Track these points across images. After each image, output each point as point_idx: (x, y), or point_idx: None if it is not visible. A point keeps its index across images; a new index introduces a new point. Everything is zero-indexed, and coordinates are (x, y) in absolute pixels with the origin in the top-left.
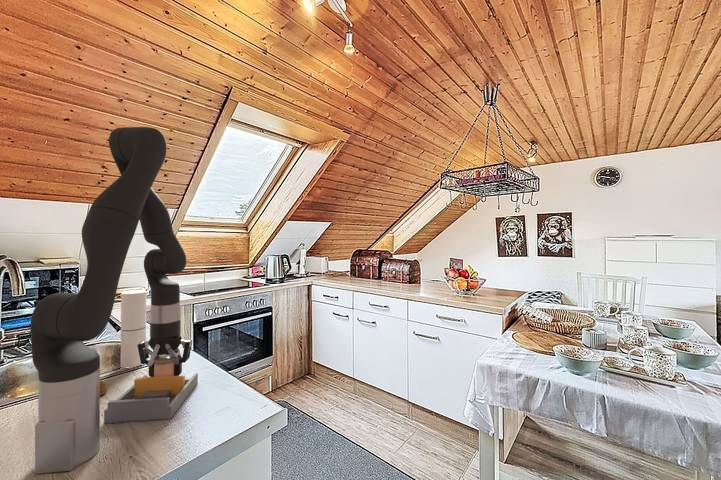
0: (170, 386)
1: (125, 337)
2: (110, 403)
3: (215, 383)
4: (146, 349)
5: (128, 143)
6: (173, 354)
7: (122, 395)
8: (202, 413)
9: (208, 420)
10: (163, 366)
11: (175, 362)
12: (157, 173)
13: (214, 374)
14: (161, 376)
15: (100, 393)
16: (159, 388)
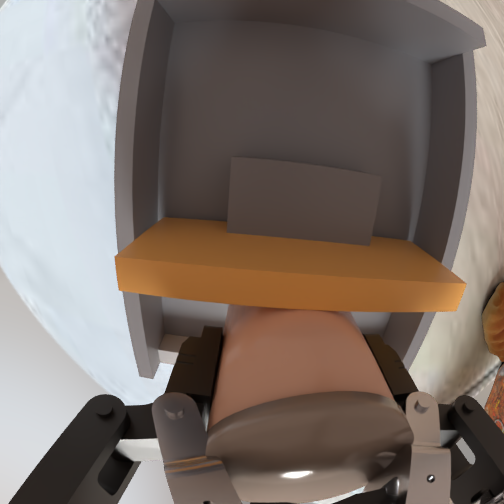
0: (225, 240)
1: (451, 501)
2: (471, 23)
3: (86, 322)
4: (466, 497)
5: None
6: (188, 499)
7: (467, 181)
8: (58, 64)
9: (43, 29)
10: (303, 374)
11: (191, 416)
12: None
13: (129, 391)
14: (307, 310)
15: (498, 294)
16: (299, 242)
